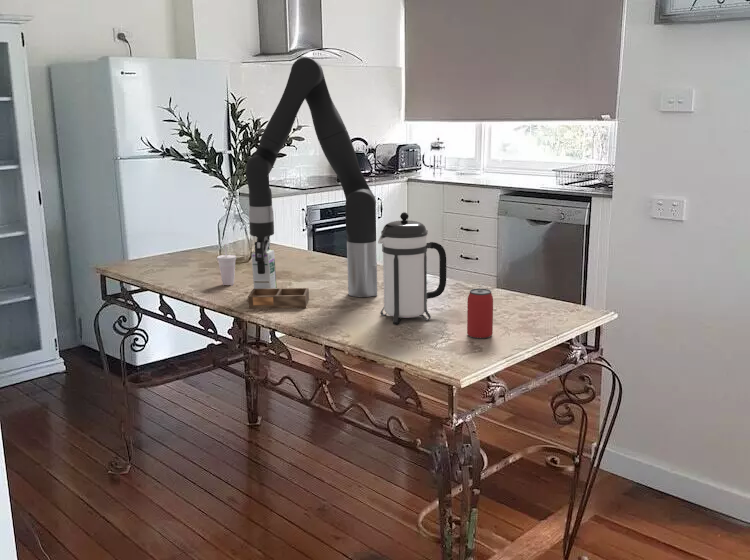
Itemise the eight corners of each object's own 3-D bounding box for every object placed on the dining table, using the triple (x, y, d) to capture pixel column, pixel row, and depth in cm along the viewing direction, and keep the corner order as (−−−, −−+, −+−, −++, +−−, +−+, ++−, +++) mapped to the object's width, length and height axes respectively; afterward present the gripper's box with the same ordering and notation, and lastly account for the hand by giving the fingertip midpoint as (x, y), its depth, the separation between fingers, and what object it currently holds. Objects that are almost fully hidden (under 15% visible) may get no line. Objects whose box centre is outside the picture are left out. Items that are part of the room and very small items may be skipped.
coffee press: (421, 328, 205) (420, 218, 197) (369, 321, 212) (367, 214, 205) (447, 312, 219) (447, 209, 212) (397, 306, 227) (396, 206, 220)
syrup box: (271, 297, 239) (269, 252, 235) (253, 297, 240) (251, 252, 236) (277, 293, 244) (275, 249, 241) (259, 292, 245) (257, 248, 242)
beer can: (491, 331, 201) (491, 287, 198) (493, 339, 194) (494, 294, 192) (466, 331, 201) (466, 287, 198) (468, 339, 195) (468, 294, 192)
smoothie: (217, 287, 254) (214, 245, 250) (220, 282, 260) (217, 242, 257) (236, 286, 254) (233, 245, 250) (239, 281, 260) (236, 241, 257)
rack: (309, 299, 235) (308, 287, 235) (305, 308, 226) (305, 295, 225) (254, 300, 236) (253, 288, 235) (248, 308, 227) (247, 296, 226)
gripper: (269, 223, 229) (272, 275, 233) (276, 216, 243) (278, 265, 247) (245, 223, 229) (247, 276, 233) (253, 216, 243) (255, 265, 247)
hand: (263, 270), depth 240 cm, fingers open, 8 cm apart
